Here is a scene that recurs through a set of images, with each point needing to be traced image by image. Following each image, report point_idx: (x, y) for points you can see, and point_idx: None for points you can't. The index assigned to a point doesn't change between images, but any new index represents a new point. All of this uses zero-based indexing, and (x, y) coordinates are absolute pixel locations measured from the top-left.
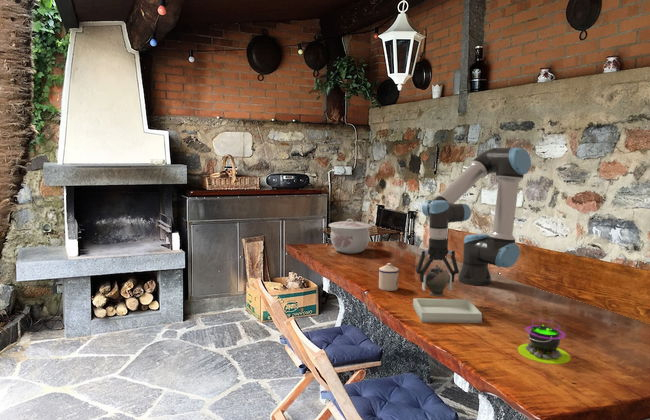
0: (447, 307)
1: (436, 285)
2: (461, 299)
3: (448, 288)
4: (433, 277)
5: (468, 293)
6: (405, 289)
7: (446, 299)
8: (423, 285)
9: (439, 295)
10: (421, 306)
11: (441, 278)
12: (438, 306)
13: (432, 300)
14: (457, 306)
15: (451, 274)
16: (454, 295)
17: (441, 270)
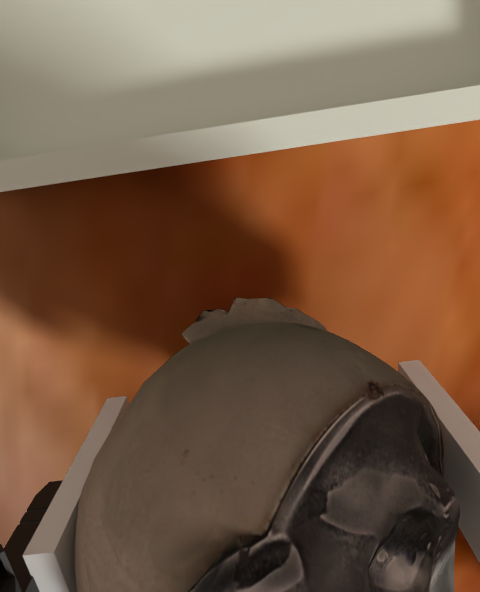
0: (176, 72)
1: (295, 325)
2: (2, 177)
3: None
4: (372, 418)
5: (4, 541)
6: (471, 557)
7: (175, 142)
8: (446, 397)
9: (240, 322)
10: (459, 48)
11: (218, 394)
12: (269, 90)
13: (344, 106)
14: (72, 132)
15: (26, 585)
16: None
17: (208, 570)
